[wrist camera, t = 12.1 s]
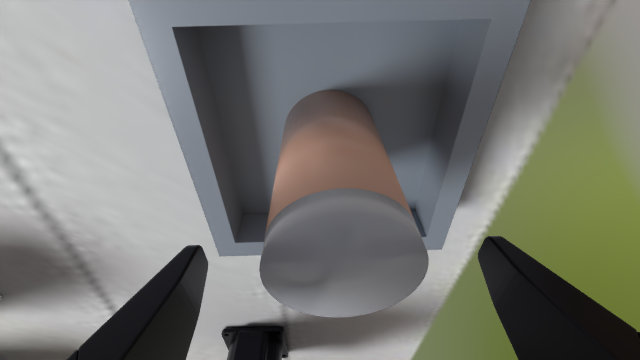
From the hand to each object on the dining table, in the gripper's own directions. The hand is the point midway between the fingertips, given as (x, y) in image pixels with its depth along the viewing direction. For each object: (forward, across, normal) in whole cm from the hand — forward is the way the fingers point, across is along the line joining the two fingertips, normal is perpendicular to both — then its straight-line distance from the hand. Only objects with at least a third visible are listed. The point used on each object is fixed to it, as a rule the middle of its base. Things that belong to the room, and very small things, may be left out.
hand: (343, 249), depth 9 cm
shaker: (+8, 0, 0) cm, 8 cm away
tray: (+9, 0, 0) cm, 9 cm away
